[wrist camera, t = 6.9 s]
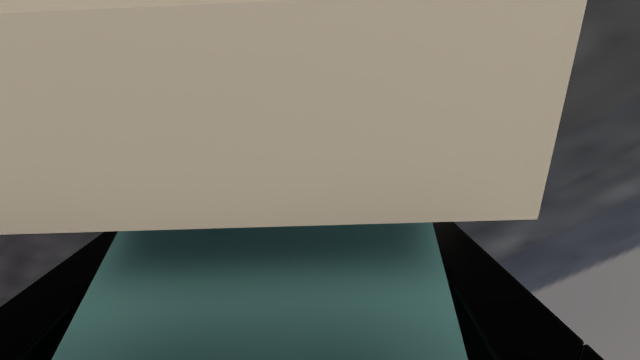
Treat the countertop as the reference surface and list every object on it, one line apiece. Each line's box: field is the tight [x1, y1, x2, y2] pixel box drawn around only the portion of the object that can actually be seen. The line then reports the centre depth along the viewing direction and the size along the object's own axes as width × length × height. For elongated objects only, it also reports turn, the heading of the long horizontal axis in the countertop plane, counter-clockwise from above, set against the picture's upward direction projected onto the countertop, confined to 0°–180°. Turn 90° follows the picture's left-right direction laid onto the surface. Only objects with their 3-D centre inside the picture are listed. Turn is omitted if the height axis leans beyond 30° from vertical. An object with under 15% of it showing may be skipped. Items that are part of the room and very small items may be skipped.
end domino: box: [52, 222, 468, 360], centre depth 9 cm, size 2×5×9 cm, turn 93°
